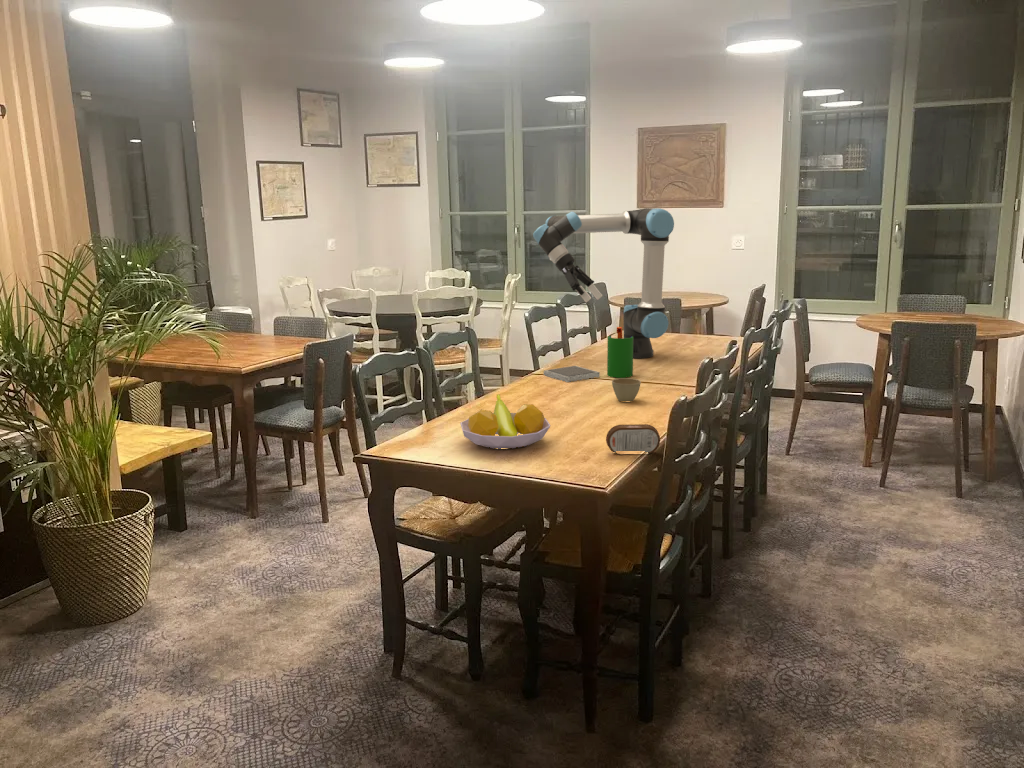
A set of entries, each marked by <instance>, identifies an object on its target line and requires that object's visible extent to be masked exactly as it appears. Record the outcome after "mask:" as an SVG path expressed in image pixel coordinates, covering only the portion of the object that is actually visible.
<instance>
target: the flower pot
mask: <svg viewBox="0 0 1024 768" xmlns="http://www.w3.org/2000/svg"><path fill="white" fill-rule="evenodd" d="M641 383H642V381H641V380H639V379H636V378H631V377H627V378H614V379H613V380H611V385H612V389H613V392H614V395H615V397H616V398H617V400H618V401H619V402H620V401H633V402H634V400H635V399H636V397H637V395H638V393H639V391H640V388H641Z"/></svg>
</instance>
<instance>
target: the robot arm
mask: <svg viewBox="0 0 1024 768" xmlns="http://www.w3.org/2000/svg"><path fill="white" fill-rule="evenodd" d="M674 228H675V220H674V217H673V216H672V214H671V213H670V212H669V211H668V210H666V209H663V208H660V207H657V208H654V207H653V208H649V207H645V208H640V209H634V210H625V211H623V212H622V213H603V214H577V213H576V212H574V211H570V212H568V213H566V214H565V215H550V216H549V217H548V218H547V219H546V220H545V223H543V224H541V225H540V226H539V227H537V228H536V229H535V230H534V232H533V233H532V234H533V235H532V236H533V239H534V240H535V242H536V243H537V245H539V247H540V248H541V249H542V251H543V252H544V253H545V254H546V256H548V258H549V261H551V262H552V263H553V264H555V267H556V268H557V269H558V271H559V272H562V273H563V275H564V277H565V279H566V280H567V282H568V284H569V286H570V288H571V290H572V291H573V292H575V291H576V293H578V295H579V296H580V297H581V299H582V300H583V301H584V302H585V303H588V302H589V301H590V300H591V299H592V297H591V296H590V294H589V293H588V292H587V291H586V290H585V288H584V287H583V286H582V285H581V284H580V282H581V283H583V285H585V286H586V287H587V289H588V290H589V292H590V293H591V295H592V296H593V297H594V298H595V299H596V300H597V301H598V300H600V299H601V298H602V297H603V293H601V292H600V290H599V289H598V288H597V287H596V286H595V284H594V283H595V281H594V280H593V279H592V278H590V276H589V275H587V274H586V273H585V271H583V269H581V268H580V266H579V265H574V262H575V258H574V257H573V256H572V254H571V253H570V252H569V250H568V249H567V248H566V247H565V245H564V244H563V243H562V242H563V241H564V240H565V239H566V238H568V237H570V236H571V235H572V234H590V233H592V234H595V233H615V232H616V233H619V232H620V233H621V232H623V234H624V235H625V234H627V235H628V234H630V235H639V236H640V242H641V244H643V258H642V260H643V261H642V277H641V278H642V280H641V281H642V282H641V284H642V285H641V300H640V302H639V303H637V304H626V305H625V306H623V335H622V337H623V338H631V337H633V359H648V358H652V357H654V349H653V345H652V342H651V339H658V338H660V337H662V336H663V335H664V334H665V333H666V332H667V331H668V328H669V319H668V317H667V315H666V314H665V313H666V311H665V310H666V306H665V305H664V303H663V299H662V298H663V282H664V280H663V279H664V267H665V265H664V262H665V249H666V248H665V247H666V245H667V244H668V243H669V241H670V240H669V239H670V235H671V233H673V231H674ZM579 281H580V282H579Z"/></svg>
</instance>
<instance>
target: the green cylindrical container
mask: <svg viewBox="0 0 1024 768" xmlns="http://www.w3.org/2000/svg"><path fill="white" fill-rule="evenodd" d="M616 335H617V337H612V335H607V357H606V358H607V364H606V365H607V367H606V373H607V375H608V377H609V376H610V378H615V377H616V378H615V379H620V378H626V377H627V378H631V376H632V377H633V376H634V374H633V373H634V358H633V337H631V338H623V326H616Z"/></svg>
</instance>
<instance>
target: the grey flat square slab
mask: <svg viewBox="0 0 1024 768" xmlns="http://www.w3.org/2000/svg"><path fill="white" fill-rule="evenodd" d="M544 375H545V376H544ZM600 375H601V374H600V371H597V370H593V369H589V368H586V367H582V366H578V365H572V366H565V367H564V366H563V367H559V368H551V369H545V370H543V376H544V377H548V378H551V379H554V378H555V380H558V381H561V380H562V382H564V381H565V383H571V381H573V382H577V380H579V381H583V380H582V379H585V380H590V379H589V378H591V379H595V378H594V377H597V378H600V377H601V376H600Z"/></svg>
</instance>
